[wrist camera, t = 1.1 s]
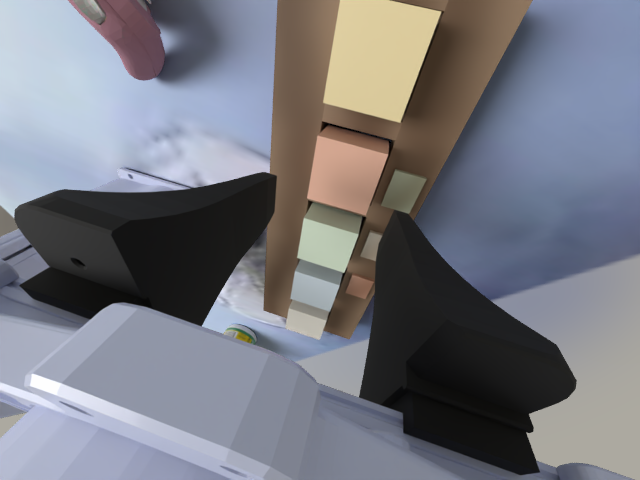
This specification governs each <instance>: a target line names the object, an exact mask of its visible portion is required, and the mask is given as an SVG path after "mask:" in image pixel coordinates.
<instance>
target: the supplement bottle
mask: <svg viewBox="0 0 640 480" xmlns="http://www.w3.org/2000/svg"><path fill="white" fill-rule="evenodd" d="M224 335H227V336H230V337H233V338H236V339H239V340H242V341H244V342H247V343H250V344H253V345H255V343H256V341H257V338H256V335H255V334H254V332H253V331H251V330H250V329H249V328H247V327H245V326H242V325H238V324H232V325H230V326H229V327H228V328H227V329H226V331H225V332H224Z"/></svg>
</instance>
